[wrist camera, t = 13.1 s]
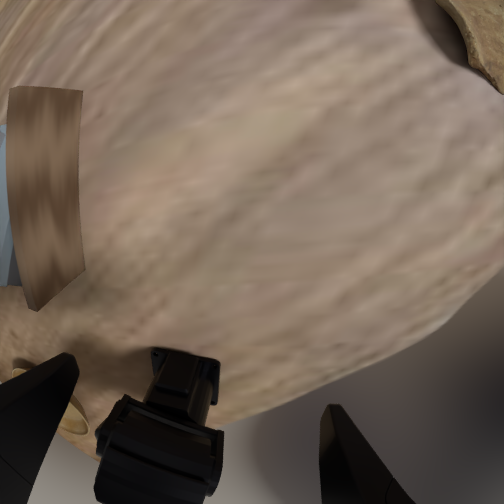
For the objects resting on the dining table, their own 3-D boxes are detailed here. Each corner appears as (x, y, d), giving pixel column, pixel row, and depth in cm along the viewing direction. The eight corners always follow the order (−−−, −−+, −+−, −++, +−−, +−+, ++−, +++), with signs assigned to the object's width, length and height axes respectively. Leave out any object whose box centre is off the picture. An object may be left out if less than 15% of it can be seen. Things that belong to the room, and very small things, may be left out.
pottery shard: (479, -7, 11) (416, -20, 11) (510, -15, 7) (453, -38, 7) (517, 95, 15) (470, 108, 15) (551, 97, 11) (514, 110, 11)
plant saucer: (87, 386, 30) (79, 400, 27) (101, 436, 35) (96, 447, 33) (10, 342, 29) (0, 352, 27) (33, 399, 35) (27, 409, 33)
